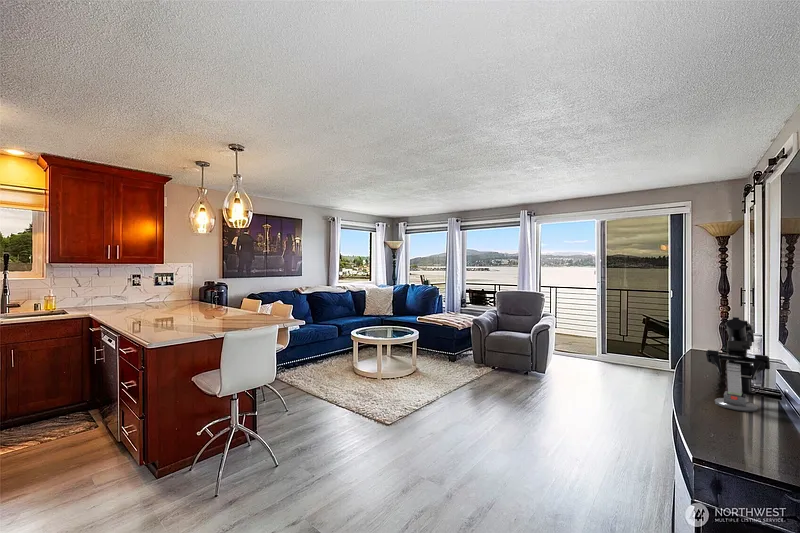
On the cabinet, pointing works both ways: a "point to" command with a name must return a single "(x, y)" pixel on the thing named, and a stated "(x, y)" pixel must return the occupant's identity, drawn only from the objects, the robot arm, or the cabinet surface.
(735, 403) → the stand base
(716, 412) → the cabinet surface
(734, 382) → the column
